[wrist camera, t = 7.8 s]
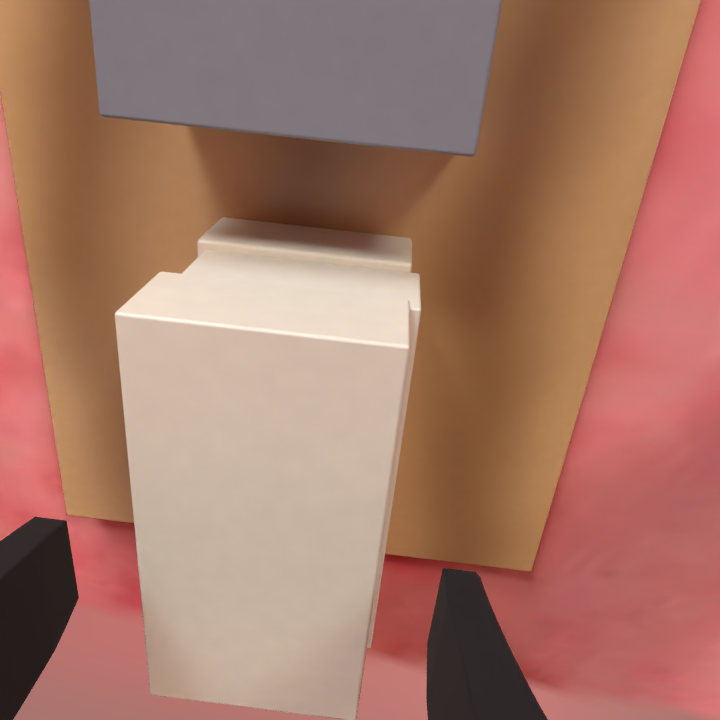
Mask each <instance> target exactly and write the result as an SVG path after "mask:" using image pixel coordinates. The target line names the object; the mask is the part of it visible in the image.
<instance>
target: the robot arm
mask: <svg viewBox="0 0 720 720" xmlns="http://www.w3.org/2000/svg"><path fill="white" fill-rule="evenodd" d="M78 598H79V597H78V591H77V584H76V578H75V572H74V565H73V559H72V553H71V547H70V540H69V534H68V528H67V521H64V520H56V519H48V518H40V517H34V518H33V519H31V520H30V521H29V522H27V523H26V524H24V525H23V526H21V527H20V528H18V529H17V530H16V531H14V532H13V533H11V534H10V535H9V536H7V537H6V538H4V539H3V540H2V541H0V720H13V719H14V717H15V715H16V714H17V712H18V711H19V709H20V708H21V706H22V704H23V703H24V701H25V699H26V698H27V696H28V694H29V693H30V691H31V689H32V688H33V686H34V684H35V683H36V681H37V679H38V678H39V676H40V674H41V673H42V671H43V669H44V668H45V666H46V664H47V663H48V661H49V659H50V658H51V656H52V654H53V652H54V651H55V649H56V647H57V644H58V642H59V640H60V638H61V636H62V634H63V632H64V630H65V628H66V625H67V623H68V621H69V618H70V616H71V614H72V612H73V609H74V607H75V605H76V603H77V600H78ZM427 710H428V720H547V718H546V716H545V714H544V713H543V711H542V709H541V708H540V706H539V704H538V702H537V700H536V698H535V696H534V695H533V693H532V691H531V689H530V687H529V685H528V683H527V681H526V679H525V677H524V675H523V673H522V671H521V669H520V667H519V665H518V664H517V662H516V660H515V658H514V656H513V654H512V652H511V649H510V647H509V645H508V643H507V641H506V639H505V637H504V635H503V632H502V630H501V628H500V626H499V623H498V621H497V619H496V617H495V614H494V612H493V610H492V607H491V605H490V602H489V600H488V597H487V595H486V592H485V589H484V587H483V584H482V581H481V578H480V577H479V576H478V574H477V573H476V572H470V571H462V570H454V569H446V568H443V571H442V576H441V581H440V585H439V590H438V595H437V600H436V605H435V609H434V614H433V619H432V624H431V628H430V633H429V638H428V645H427Z"/></svg>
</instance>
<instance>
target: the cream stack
mask: <svg viewBox="0 0 720 720" xmlns="http://www.w3.org/2000/svg"><path fill="white" fill-rule="evenodd" d="M197 248H198V258H197V259H196V260H195V261H194V262H193V263H192V264H191V265H190V266H189V267H188V268H187V269H186V270H185V271H184V272H183V273H182V274H188V275H197V276H205V277H214V278H223V279H232V280H241V281H250V282H258V283H267V284H276V285H285V286H294V287H303V288H311V289H320V290H329V291H338V292H347V293H356V294H364V295H373V296H382V297H391V298H400V299H407V300H409V302H410V351H409V358H408V365H407V372H406V379H405V386H404V393H403V400H402V407H401V414H400V421H399V428H398V435H397V442H396V449H395V455H394V462H393V469H392V476H391V483H390V490H389V497H388V504H387V511H386V518H385V525H384V532H383V539H382V546H381V553H380V559H379V566H378V573H377V580H376V587H375V594H374V601H373V608H372V615H371V622H370V629H369V636H368V643H367V648H368V649H369V648H371V645H372V638H373V632H374V625H375V618H376V611H377V605H378V598H379V591H380V585H381V578H382V571H383V564H384V558H385V551H386V544H387V537H388V531H389V524H390V517H391V511H392V504H393V497H394V490H395V484H396V477H397V470H398V464H399V457H400V450H401V443H402V437H403V430H404V423H405V417H406V410H407V403H408V396H409V390H410V383H411V376H412V370H413V363H414V356H415V349H416V343H417V336H418V329H419V323H420V316H421V293H420V275H419V274H417V273H411V270H412V241H411V239H410V238H406V237H397V236H388V235H379V234H370V233H361V232H352V231H343V230H334V229H325V228H316V227H307V226H298V225H289V224H280V223H271V222H262V221H253V220H244V219H235V218H226V217H224V218H221V219H220V220H219V221H218V222H217V223H216V224H215V225H214V226H213V227H212V228H210V229H209V230H208V231H207V232H206V233H205V234H204V235H203V236H202V237H201V238H200V239H199V240H198V242H197Z"/></svg>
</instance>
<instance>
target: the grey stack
mask: <svg viewBox="0 0 720 720" xmlns="http://www.w3.org/2000/svg"><path fill="white" fill-rule="evenodd" d="M89 3H90V14H91V25H92V36H93V47H94V58H95V69H96V79H97V90H98V101H99V112H100V115H101V116H103V117H108V118H117V119H126V120H136V121H145V122H154V123H163V124H173V125H182V126H191V127H200V128H210V129H219V130H228V131H237V132H247V133H256V134H265V135H274V136H284V137H293V138H302V139H311V140H321V141H330V142H339V143H348V144H358V145H367V146H376V147H385V148H395V149H404V150H413V151H422V152H432V153H441V154H450V155H459V156H469V157H472V156H475V154H476V152H477V146H478V140H479V134H480V128H481V122H482V117H483V111H484V105H485V99H486V93H487V87H488V81H489V76H490V70H491V64H492V58H493V52H494V46H495V41H496V35H497V29H498V23H499V17H500V11H501V5H502V0H89Z"/></svg>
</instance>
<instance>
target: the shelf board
mask: <svg viewBox="0 0 720 720" xmlns="http://www.w3.org/2000/svg"><path fill="white" fill-rule="evenodd" d="M700 2H701V0H502V5H501V11H500V17H499V23H498V29H497V35H496V41H495V46H494V52H493V58H492V64H491V70H490V76H489V81H488V87H487V93H486V99H485V105H484V111H483V117H482V122H481V128H480V134H479V140H478V146H477V152H476V154H475V156H472V157H469V156H459V155H450V154H441V153H432V152H422V151H413V150H404V149H395V148H385V147H376V146H367V145H358V144H348V143H339V142H330V141H321V140H311V139H302V138H293V137H284V136H274V135H265V134H256V133H247V132H237V131H228V130H219V129H210V128H200V127H191V126H182V125H173V124H163V123H154V122H145V121H136V120H126V119H117V118H108V117H103V116H101V115H100V112H99V101H98V90H97V79H96V69H95V58H94V47H93V36H92V25H91V14H90V3H89V0H0V93H1V99H2V105H3V112H4V118H5V125H6V131H7V137H8V144H9V150H10V157H11V163H12V169H13V176H14V182H15V188H16V195H17V201H18V208H19V214H20V220H21V227H22V233H23V239H24V246H25V252H26V259H27V265H28V271H29V278H30V284H31V290H32V297H33V303H34V310H35V316H36V322H37V329H38V335H39V342H40V348H41V354H42V361H43V367H44V373H45V380H46V386H47V393H48V399H49V405H50V412H51V418H52V424H53V431H54V437H55V444H56V450H57V456H58V463H59V469H60V475H61V482H62V488H63V495H64V501H65V507H66V514H67V515H70V516H78V517H86V518H94V519H102V520H111V521H119V522H127V523H134V516H133V505H132V495H131V484H130V473H129V463H128V452H127V441H126V431H125V420H124V409H123V399H122V388H121V377H120V367H119V356H118V346H117V335H116V324H115V313H116V311H117V310H119V309H120V308H121V307H122V306H123V305H124V304H125V303H126V302H127V301H128V300H130V299H131V298H132V297H133V296H134V295H135V294H136V293H137V292H138V291H139V290H140V289H142V288H143V287H144V286H145V285H146V284H147V283H148V282H149V281H150V280H151V279H153V278H154V277H155V276H156V275H157V274H158V273H159V272H170V273H179V274H182V273H183V272H184V271H185V270H186V269H187V268H188V267H189V266H190V265H191V264H192V263H193V262H194V261H195V260H196V259H197V258H198V248H197V242H198V240H199V239H200V238H201V237H202V236H203V235H204V234H205V233H206V232H207V231H208V230H209V229H210V228H212V227H213V226H214V225H215V224H216V223H217V222H218V221H219V220H220V219H221V218H224V217H226V218H235V219H244V220H253V221H262V222H271V223H280V224H289V225H298V226H307V227H316V228H325V229H334V230H343V231H352V232H361V233H370V234H379V235H388V236H397V237H406V238H410V239H411V241H412V270H411V273H417V274H419V275H420V293H421V316H420V323H419V329H418V336H417V343H416V349H415V356H414V363H413V370H412V376H411V383H410V390H409V396H408V403H407V410H406V417H405V423H404V430H403V437H402V443H401V450H400V457H399V464H398V470H397V477H396V484H395V490H394V497H393V504H392V511H391V517H390V524H389V531H388V537H387V544H386V551H385V554H389V555H397V556H405V557H414V558H422V559H430V560H438V561H446V562H455V563H463V564H471V565H479V566H487V567H496V568H504V569H512V570H520V571H528V572H530V571H532V567H533V564H534V561H535V557H536V554H537V551H538V547H539V544H540V540H541V537H542V534H543V530H544V527H545V524H546V520H547V517H548V514H549V510H550V507H551V503H552V500H553V497H554V493H555V490H556V487H557V483H558V480H559V476H560V473H561V470H562V466H563V463H564V460H565V456H566V453H567V450H568V446H569V443H570V439H571V436H572V433H573V429H574V426H575V423H576V419H577V416H578V413H579V409H580V406H581V402H582V399H583V396H584V392H585V389H586V386H587V382H588V379H589V375H590V372H591V369H592V365H593V362H594V359H595V355H596V352H597V349H598V345H599V342H600V338H601V335H602V332H603V328H604V325H605V322H606V318H607V315H608V312H609V308H610V305H611V301H612V298H613V295H614V291H615V288H616V285H617V281H618V278H619V275H620V271H621V268H622V264H623V261H624V258H625V254H626V251H627V248H628V244H629V241H630V237H631V234H632V231H633V227H634V224H635V221H636V217H637V214H638V211H639V207H640V204H641V200H642V197H643V194H644V190H645V187H646V184H647V180H648V177H649V174H650V170H651V167H652V163H653V160H654V157H655V153H656V150H657V147H658V143H659V140H660V136H661V133H662V130H663V126H664V123H665V120H666V116H667V113H668V110H669V106H670V103H671V99H672V96H673V93H674V89H675V86H676V83H677V79H678V76H679V73H680V69H681V66H682V62H683V59H684V56H685V52H686V49H687V46H688V42H689V39H690V36H691V32H692V29H693V25H694V22H695V19H696V15H697V12H698V9H699V5H700Z"/></svg>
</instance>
